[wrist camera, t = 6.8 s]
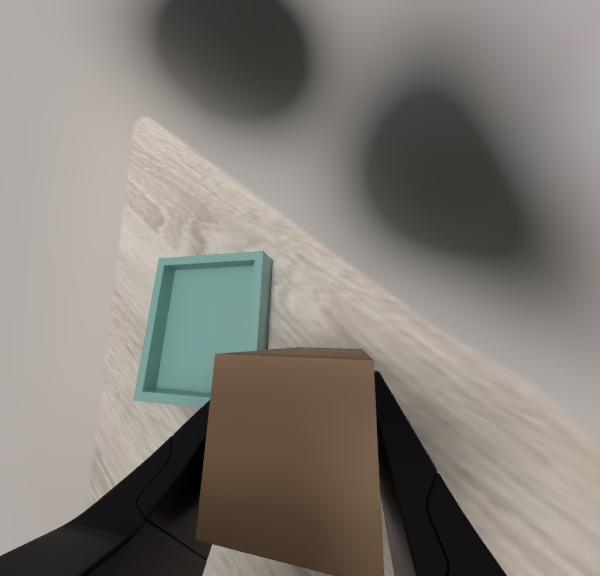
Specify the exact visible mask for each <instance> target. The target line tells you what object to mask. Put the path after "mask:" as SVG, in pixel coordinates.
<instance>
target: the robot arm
mask: <svg viewBox="0 0 600 576" xmlns="http://www.w3.org/2000/svg"><path fill="white" fill-rule="evenodd" d="M374 380H375V401H376V421H377V442H378V463H379V484H380V494H381V500H382V505H383V511H384V517H385V523H386V529H387V534H388V540H389V546H390V552H391V558H392V564H393V569H394V575H395V576H507V575H506V574H505V572H504V571H503V569H502V568H501V567H500V565H499V564H498V562H497V561H496V559H495V558H494V557H493V555H492V554H491V552H490V551H489V550H488V548H487V547H486V545H485V544H484V542H483V541H482V540H481V538H480V537H479V535H478V534H477V532H476V531H475V529H474V528H473V526H472V525H471V523H470V522H469V520H468V519H467V517H466V516H465V514H464V513H463V511H462V510H461V508H460V507H459V505H458V503H457V502H456V500H455V499H454V497H453V495H452V494H451V492H450V490H449V489H448V487H447V486H446V484H445V482H444V480H443V479H442V477H441V475H440V474H439V473H437V469H436V467H435V465H434V464H433V462H432V460H431V459H430V457H429V455H428V454H427V452H426V450H425V449H424V447H423V445H422V443H421V442H420V440H419V438H418V437H417V435H416V433H415V432H414V430H413V428H412V427H411V425H410V423H409V421H408V420H407V418H406V416H405V415H404V413H403V411H402V410H401V408H400V406H399V405H398V403H397V401H396V399H395V398H394V396H393V394H392V393H391V391H390V389H389V388H388V386H387V384H386V383H385V381H384V379H383V378H382V376H381V374H380V373H379V372H378V371H374ZM209 406H210V400H209V401H208V402H207V403H206V404H205V405H204V406H203V407H202V408H200V409H199V410H198V411H197V412H196V413H195V414H194V415H193V416H192V417H191V418H190V419H189V420H188V421H187V422H186V423H185V424H184V425H183V426H182V427H181V428H180V429H179V430H178V431H176V432H175V433H174V435H173V436H171V437H170V438H169V439H168V440H167V441H166V442H165V443H164V444H163V445H162V446H161V447H160V448H158V449H157V450H156V451H155V452H154V453H153V454H152V455H151V456H150V457H149V458H148V459H146V460H145V461H144V462H143V463H142V464H141V465H140V466H138V467H137V468H136V469H135V470H134V471H133V472H131V473H130V474H129V475H128V476H127V477H126V478H124V479H123V480H122V481H121V482H120V483H118V484H117V485H116V486H115V487H114V488H112V489H111V490H110V491H109V492H108V493H107V494H105V495H104V496H103V497H102V498H101V499H99V500H98V501H97V502H96V503H95V504H93V505H92V506H91V507H90V508H88V509H87V510H86V511H85V512H83V513H82V514H81V515H79V516H78V517H77V518H75V519H73V520H72V521H70V522H68V523H67V524H65V525H63V526H62V527H59V528H57V529H55V530H53V531H51V532H49V533H47V534H45V535H43V536H41V537H39V538H37V539H35V540H33V541H30V542H29V543H27V544H24V545H22V546H20V547H18V548H16V549H14V550H12V551H10V552H8V553H5V554H3V555H1V556H0V576H202V575H203V572H204V569H205V565H206V562H207V559H208V556H209V553H210V550H211V546H212V544H210V543H206V542H202V541H198V540H195V538H196V529H197V519H198V510H199V500H200V491H201V482H202V472H203V463H204V453H205V444H206V434H207V425H208V416H209Z"/></svg>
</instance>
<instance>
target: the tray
mask: <svg viewBox="0 0 600 576" xmlns="http://www.w3.org/2000/svg"><path fill="white" fill-rule="evenodd" d="M271 278H272V259H271V258H270V257H269V256H268V255H267V254H266V253H265V252H264V251H258V252H243V253H229V254H215V255H201V256H187V257H173V258H159V261H158V267H157V272H156V278H155V283H154V289H153V294H152V300H151V306H150V311H149V317H148V322H147V328H146V333H145V339H144V345H143V350H142V356H141V361H140V367H139V372H138V378H137V384H136V389H135V395H134V401H144V402H154V403H163V404H173V405H183V406H193V407H203V406H204V405H205V404H206V403H207V402H208V401H209V400H210V397H211V387H212V378H213V369H214V359H215V354H219V353H232V352H245V351H259V350H267V349H268V331H269V314H270V296H271Z"/></svg>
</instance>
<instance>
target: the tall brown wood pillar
mask: <svg viewBox="0 0 600 576" xmlns="http://www.w3.org/2000/svg"><path fill="white" fill-rule="evenodd" d="M195 540H198V541H202V542H206V543H210V544H214V545H218V546H222V547H226V548H229V549H233V550H237V551H241V552H245V553H249V554H253V555H257V556H260V557H264V558H268V559H272V560H276V561H280V562H284V563H288V564H292V565H295V566H299V567H303V568H307V569H311V570H315V571H319V572H323V573H326V574H330V575H334V576H384V567H383V546H382V525H381V505H380V484H379V463H378V442H377V421H376V401H375V380H374V360H373V359H372V358H371V357H369V356H368V355H367V354H366V353H365V352H364V351H363V350H362V349H332V348H299V347H298V348H285V349H272V350H259V351H245V352H232V353H219V354H215V359H214V369H213V378H212V387H211V397H210V406H209V416H208V425H207V434H206V444H205V453H204V463H203V472H202V482H201V491H200V500H199V510H198V519H197V529H196V538H195Z"/></svg>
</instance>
